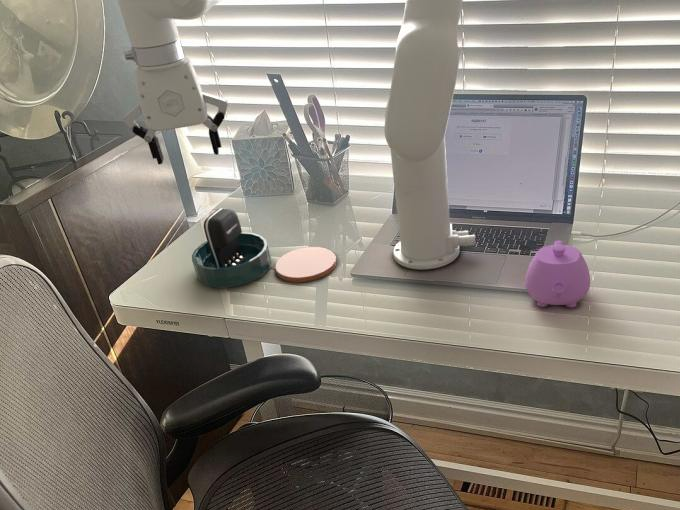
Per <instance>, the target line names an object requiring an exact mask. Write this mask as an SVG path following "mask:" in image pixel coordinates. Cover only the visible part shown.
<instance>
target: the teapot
mask: <svg viewBox="0 0 680 510" xmlns="http://www.w3.org/2000/svg"><path fill="white" fill-rule="evenodd" d="M524 282H525V289H526V292H527V293H528V294H529V296H530V297H531V298H532V299H533V300H534V301H536V305H537V306H539V307H543V308H544V307H547V306H548V305H552V306H560V305H561V306H563V305H565V306H566V307H568V308H574V307H575V308H576V306H577V305H578V302H580V301H581V300H582V299H583V298H585V297H586V295H587V294H588V292H589V290H590V288H591V275H590V269H589V267H588V264H587V262H586V260H585V258H584V256H583V254H582V253H581V251H580V249H578V248H577V247H575V246H572V245H568V244H564V242H563V241H562V240H555V241H554V244H551V245H544V246H542V247H540V248H539V249H538V250H537V252H536V253H535V254H534V256H533V258H532V259H531V261H530V263H529V266H528V268H527V270H526V275H525V281H524Z"/></svg>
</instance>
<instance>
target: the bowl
mask: <svg viewBox="0 0 680 510" xmlns="http://www.w3.org/2000/svg"><path fill="white" fill-rule="evenodd" d="M237 240H238V244H239V247H240V250H241V251H242V253H243V254H244V256H245V258H246V261H245V262H244V263H241V264H239V265H235V266H230V267H224V268H216V267H215V263H214V260H213V257H212V254H211V251H210V248H209V245H208V242H207V240H206V241H204V242H203V243H201V244H200V245H199V246H197V247H196V248H195V249H194V251H193V253H192V254H191V261H192V264H193V268H194V271H195V274H196V277H197V280H198V281H199V282H200V283H201V284H203V285H205V286H207V287H212V288H233V287H238V286H239V287H240V286H242V285H243V286H244V285H246V284H248V283H250V282H253V281H255V280H257V279H259V278H260V277H262V276H263V275H265V273H266V272H268V271H269V269H270V268H271V266H272V263H273V262H272V258H271V253H270V249H269V245H268V241H267V239H266V238H265V236H262V235H261V234H259V233H255V232H247V231H246V232H245V231H242V233H241V234H240V235H239V236H238V237H237Z"/></svg>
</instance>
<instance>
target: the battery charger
mask: <svg viewBox="0 0 680 510" xmlns="http://www.w3.org/2000/svg"><path fill="white" fill-rule="evenodd" d="M203 232H204V235H205V238H206V241H207V242H208V245H209V248H210V251H211V254H212V257H213V260H214V263H215V267H216V268H224V267H230V266H235V265H239V264H241V263H244V262H245V261H246V258H245V256H244V254H243V253H242V251H241V250H240V247H239V244H238V240H237V237H238V236H239V235H240V234H241V233H242V232H243V231H242V226H241V223H240V220H239V216H238V214H237V212H236V211H235V210H233V209H228V208H225V207H221V208H217V209H216V210H215V211H213V212H212V213H211V214H209V215H208V216H207V217H206V218H205V219H204V222H203Z"/></svg>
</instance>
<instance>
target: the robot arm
mask: <svg viewBox="0 0 680 510" xmlns="http://www.w3.org/2000/svg"><path fill="white" fill-rule="evenodd" d="M221 1H222V0H117V3H118V6H119V10H120V14H121V16H122V19H123V23H124V27H125V29H126V32H127V36H128V39H129V43H130V45H131V47H130V49H128V50H125V51H123V54H124V58H125V60H126V61H133V62H134V63H135V64H136V66H134V67H133V78H134V84H135V89H136V93H137V98H138V101H139V103H138V104H137V105H135V107H133V108H132V109H131V110H130V111H128V112H127V113H126V114H124V115H123V118H122V122H123V123H124V124H125V125H126V126H127V127H128V128H129V129H130V131H132V133H133V134H134V135H136V136H137V137H139V138H142V140H144V141H145V142H146V143H147V145H148V147H149V150H150V154H151V157H152V160H155V159H156V162H157V165H162V164H163V163H164V154H163V151H162V147H161V145H160V142H159V138H158V136H156V133H157V132H163V131H168V130H169V131H170V130H176V129H180V128H187V127H192V126H193V127H194V126H198V125H203V126H205V127H206V128H207V129H208V136H209V140H210V143H211V146H212V151H213V154H214V155H215V156H217V155H219V149H220V148H222V142H221V138H220V134H219V130H218V129H219V127H220V126H221V124H222V123H223V121H224V120H225V116H226V112H227V108H228V100H227V99H225V98H222V97H219V96H216V95H213V94H210V93H206V92H203V89H202V86H201V84H200V81H199V78H198V75H197V72H196V69H195V67H194V65H193V63H192V61H191V59H190V58H189V57H188V56H185V51H184V49H183V45H182V41H181V38H180V34H179V29H178V26H177V22H176V20H180V21H189V20H196V19H199V18H201V17H202V16H204V15H205V14H206V13H208V12H209V11H210V10H211V9H212V8H213V7H214V6H216V5H217V4H218V3H220V2H221ZM462 6H463V0H405V5H404V12H403V17H402V22H401V26H400V31H399V33H398V36H397V40H396V45H395V56H394V62H393V70H392V77H391V85H390V89H389V90H390V91H389V96H388V99H387V103H386V107H385V114H384V118H385V119H384V137H385V141H386V143H387V145H388V147H389V149H390V158H391V169H392V178H393V187H394V196H395V205H396V214H397V224H398V232H399V233H398V234H399V241H398V242H397V243H396V244H395V246H394V247H393V248H392V255H393V259H394V260H395V262H396V263H397V264H398V265H400V266H402V267H405V268H407V269H412V270H420V271H421V270H424V271H425V270H433V269H438V268H442V267H444V266H447V265H449V264H451V263H452V262H454V261H455V260H456V259H457V258H458V257H459V255H460V250H461V248H460V247H462V246H463V247H465V246H466V247H472V246H476V235H475V234H469V230H460V231H457V230H456V229H455V230H453V223H451V218H450V217H451V216H450V202H449V201H450V199H449V185H448V165H447V164H448V163H447V149H446V132H447V127H448V123H449V119H450V114H451V109H452V104H453V100H454V99H453V98H454V94H455V89H456V84H457V79H458V73H459V65H460V50H459V45H458V44H459V43H458V30H459V29H458V27H459V22H460V16H461V11H462ZM207 104H208V105H211V106H215V107H217V108H218V109H217V112H216V113H215V115H214V117H213V116H211V114H208V106H207ZM141 115H142V116H143V120H144V123H145V126H146V127H147V128H145V127H143V125H140V124H138V123H137V121H136V119H137V118H138V117H140V116H141Z"/></svg>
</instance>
